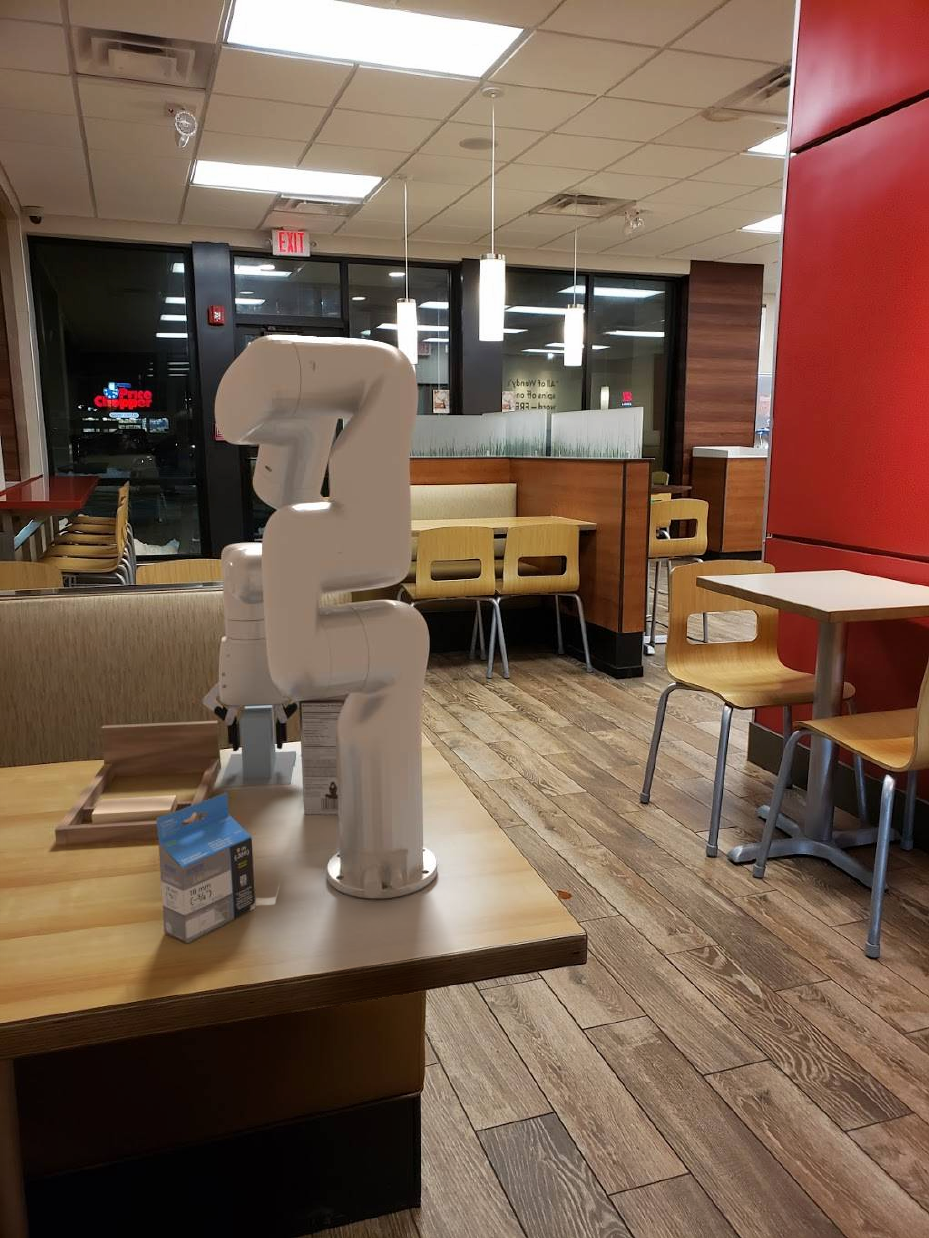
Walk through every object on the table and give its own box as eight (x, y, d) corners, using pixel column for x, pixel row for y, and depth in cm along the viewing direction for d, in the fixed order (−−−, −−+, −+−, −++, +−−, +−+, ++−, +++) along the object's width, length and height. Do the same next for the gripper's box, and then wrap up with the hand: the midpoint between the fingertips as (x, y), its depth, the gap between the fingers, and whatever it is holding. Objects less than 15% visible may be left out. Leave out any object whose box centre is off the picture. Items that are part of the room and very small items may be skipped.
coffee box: (315, 789, 129) (310, 680, 126) (360, 789, 129) (356, 680, 126) (302, 815, 120) (297, 698, 117) (350, 815, 120) (347, 698, 117)
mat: (290, 787, 130) (290, 783, 130) (219, 791, 129) (219, 787, 129) (296, 754, 144) (296, 751, 143) (231, 757, 142) (231, 754, 142)
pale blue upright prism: (271, 777, 132) (268, 718, 131) (243, 778, 132) (240, 719, 130) (275, 758, 140) (273, 702, 138) (249, 759, 140) (246, 703, 138)
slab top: (170, 820, 114) (170, 809, 114) (92, 825, 113) (91, 814, 113) (177, 805, 119) (176, 795, 119) (102, 810, 118) (101, 799, 117)
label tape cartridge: (186, 946, 90) (178, 829, 87) (162, 933, 92) (153, 819, 89) (257, 909, 96) (251, 799, 94) (233, 898, 99) (226, 791, 96)
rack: (194, 840, 113) (190, 779, 111) (56, 848, 111) (50, 787, 109) (221, 771, 136) (217, 720, 135) (107, 777, 134) (103, 725, 133)
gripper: (313, 621, 137) (317, 736, 140) (195, 625, 134) (203, 741, 138) (311, 631, 129) (316, 752, 133) (186, 636, 127) (195, 758, 131)
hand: (258, 746), depth 135 cm, fingers open, 5 cm apart
